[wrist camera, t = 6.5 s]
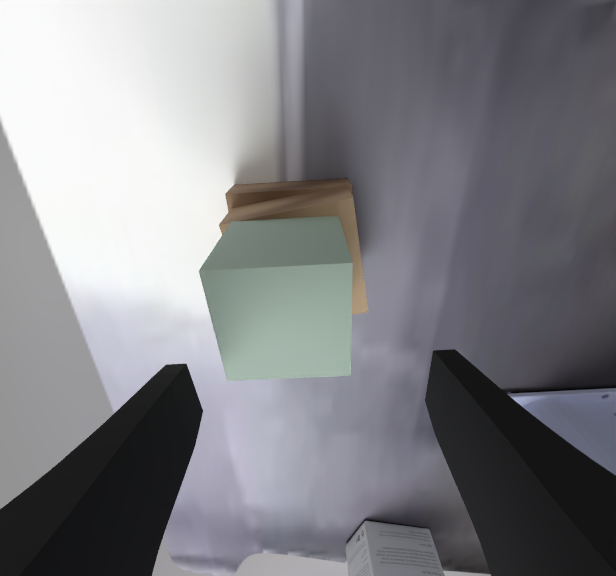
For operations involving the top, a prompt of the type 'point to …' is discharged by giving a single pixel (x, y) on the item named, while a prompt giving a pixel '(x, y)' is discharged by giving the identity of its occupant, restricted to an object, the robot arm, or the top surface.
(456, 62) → the top surface
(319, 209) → the tower top
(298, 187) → the tower base
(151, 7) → the top surface
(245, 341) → the block
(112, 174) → the top surface
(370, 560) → the skincare box
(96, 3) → the top surface
